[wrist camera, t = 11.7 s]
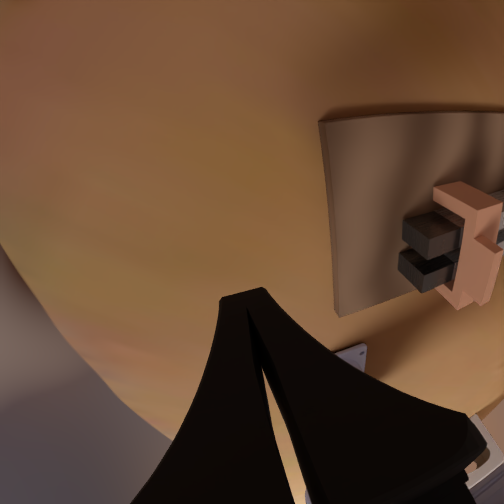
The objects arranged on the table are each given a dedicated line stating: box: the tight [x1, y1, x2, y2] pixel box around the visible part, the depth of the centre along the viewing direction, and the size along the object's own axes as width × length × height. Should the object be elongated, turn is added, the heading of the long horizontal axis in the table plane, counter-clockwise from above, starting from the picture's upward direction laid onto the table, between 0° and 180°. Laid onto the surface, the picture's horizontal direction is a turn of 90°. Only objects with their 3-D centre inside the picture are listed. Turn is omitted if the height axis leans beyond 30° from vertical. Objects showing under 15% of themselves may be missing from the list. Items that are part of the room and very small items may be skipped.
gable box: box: [465, 414, 504, 489], centre depth 45 cm, size 22×13×28 cm, turn 111°
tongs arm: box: [402, 190, 504, 260], centre depth 18 cm, size 14×2×3 cm, turn 102°
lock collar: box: [433, 181, 504, 310], centre depth 17 cm, size 3×8×6 cm, turn 11°
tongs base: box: [397, 228, 504, 293], centre depth 19 cm, size 19×4×4 cm, turn 101°
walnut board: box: [318, 111, 504, 318], centre depth 20 cm, size 25×14×1 cm, turn 101°
